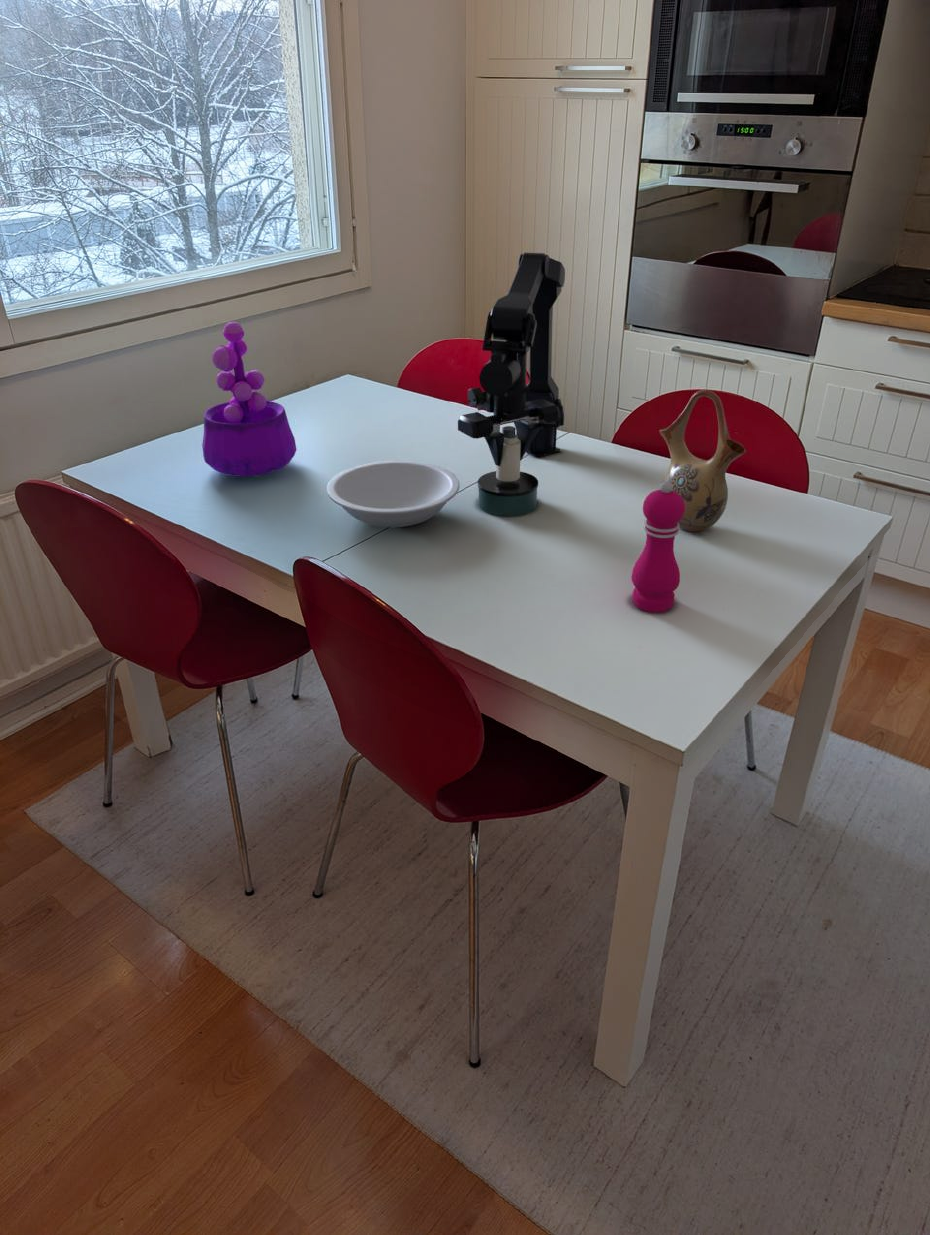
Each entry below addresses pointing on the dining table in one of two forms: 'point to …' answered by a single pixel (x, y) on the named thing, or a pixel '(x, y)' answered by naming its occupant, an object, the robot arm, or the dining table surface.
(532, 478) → the enamel tin
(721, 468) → the ceramic vessel
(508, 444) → the bottle
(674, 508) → the pepper mill
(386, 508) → the soup bowl
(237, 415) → the decorative plant
